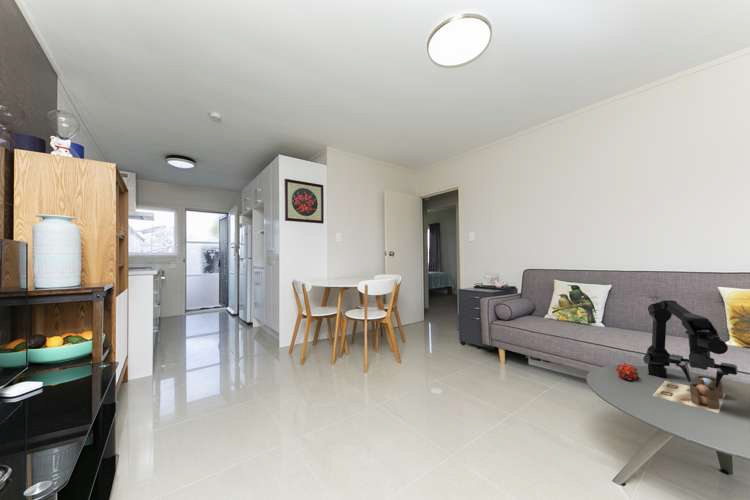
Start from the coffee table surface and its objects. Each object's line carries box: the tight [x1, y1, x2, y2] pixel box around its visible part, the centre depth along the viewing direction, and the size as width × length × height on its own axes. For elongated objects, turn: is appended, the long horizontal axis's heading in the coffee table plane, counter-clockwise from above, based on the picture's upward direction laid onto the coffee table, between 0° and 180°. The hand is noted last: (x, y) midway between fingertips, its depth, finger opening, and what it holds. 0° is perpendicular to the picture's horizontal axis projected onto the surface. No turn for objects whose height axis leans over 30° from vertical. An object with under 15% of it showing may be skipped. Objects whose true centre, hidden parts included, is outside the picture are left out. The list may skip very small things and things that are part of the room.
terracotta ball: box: [696, 384, 710, 395], centre depth 117 cm, size 4×4×4 cm
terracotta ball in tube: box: [699, 394, 708, 405], centre depth 117 cm, size 4×4×4 cm
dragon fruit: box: [615, 362, 640, 381], centre depth 145 cm, size 8×8×12 cm
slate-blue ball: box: [701, 378, 711, 386], centre depth 125 cm, size 4×4×4 cm
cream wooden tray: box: [652, 375, 726, 414], centre depth 125 cm, size 19×26×8 cm
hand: (703, 384), depth 117 cm, fingers open, 7 cm apart
